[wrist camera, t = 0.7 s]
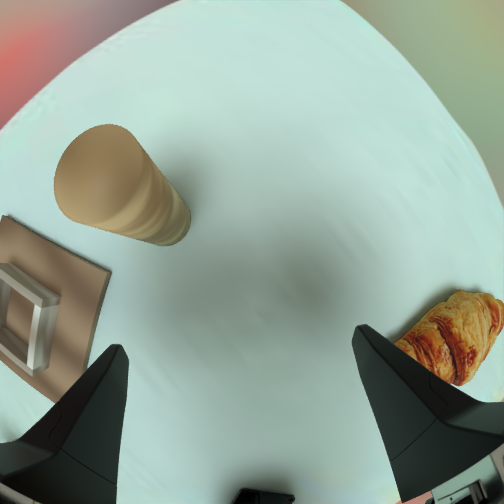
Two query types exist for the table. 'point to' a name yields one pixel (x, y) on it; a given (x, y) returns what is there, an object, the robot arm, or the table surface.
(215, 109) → the table surface
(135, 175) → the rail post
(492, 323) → the croissant
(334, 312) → the table surface
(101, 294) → the cup bracket
